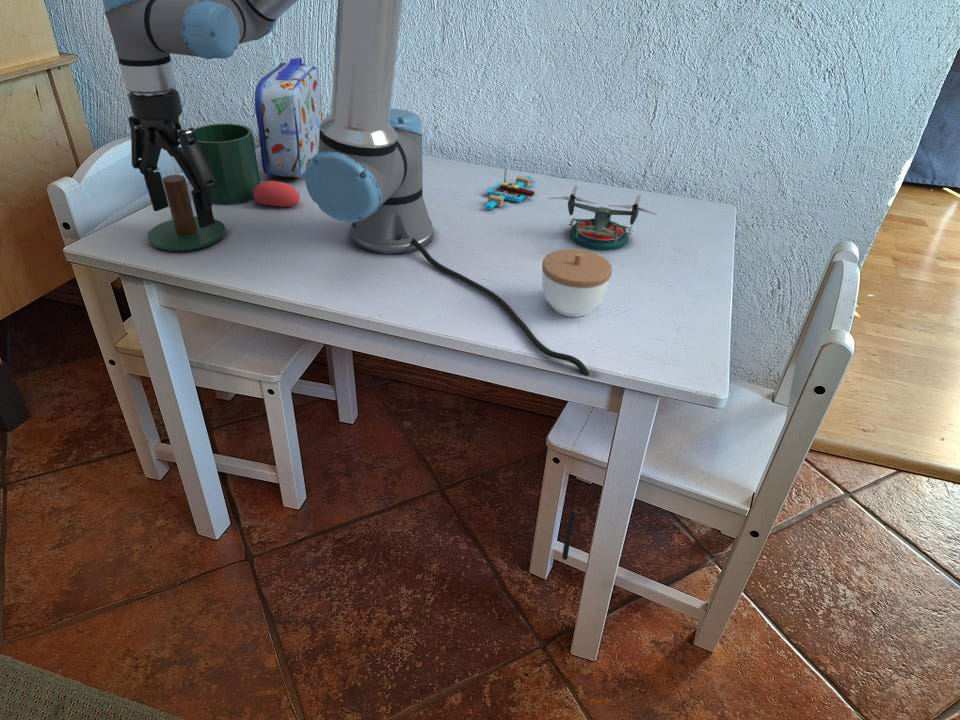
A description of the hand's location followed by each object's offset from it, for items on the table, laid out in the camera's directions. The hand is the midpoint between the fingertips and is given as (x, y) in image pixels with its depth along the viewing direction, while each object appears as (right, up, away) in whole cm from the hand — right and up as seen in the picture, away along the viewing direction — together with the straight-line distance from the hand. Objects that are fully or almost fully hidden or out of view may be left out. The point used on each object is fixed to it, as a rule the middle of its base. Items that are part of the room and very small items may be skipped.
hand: (183, 216), depth 118 cm
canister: (+1, +9, +20) cm, 22 cm away
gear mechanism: (+61, +10, +24) cm, 66 cm away
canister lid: (0, -3, +2) cm, 4 cm away
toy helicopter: (+76, -3, +8) cm, 76 cm away
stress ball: (+12, +6, +16) cm, 21 cm away
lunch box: (+11, +20, +35) cm, 41 cm away
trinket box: (+68, -18, -12) cm, 71 cm away
